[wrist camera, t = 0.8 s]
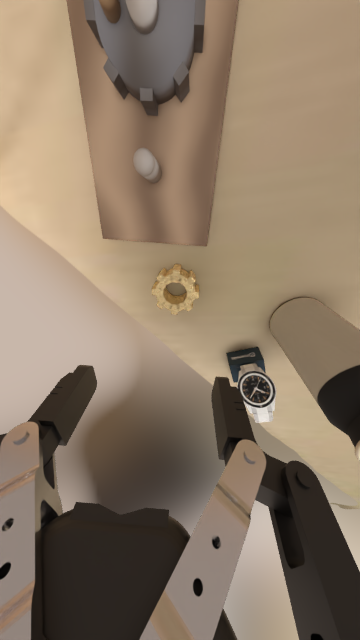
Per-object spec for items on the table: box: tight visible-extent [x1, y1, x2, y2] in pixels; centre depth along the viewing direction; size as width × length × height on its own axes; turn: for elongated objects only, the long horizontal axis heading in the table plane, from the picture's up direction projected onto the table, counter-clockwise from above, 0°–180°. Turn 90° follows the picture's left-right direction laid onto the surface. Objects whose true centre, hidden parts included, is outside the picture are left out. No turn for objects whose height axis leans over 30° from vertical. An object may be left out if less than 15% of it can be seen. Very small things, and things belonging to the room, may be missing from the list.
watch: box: [227, 347, 276, 423], centre depth 28 cm, size 6×8×11 cm
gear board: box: [67, 0, 238, 246], centre depth 15 cm, size 13×20×6 cm, turn 177°
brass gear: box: [152, 264, 199, 314], centre depth 25 cm, size 6×6×3 cm
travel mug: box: [270, 298, 360, 461], centre depth 20 cm, size 8×8×18 cm
